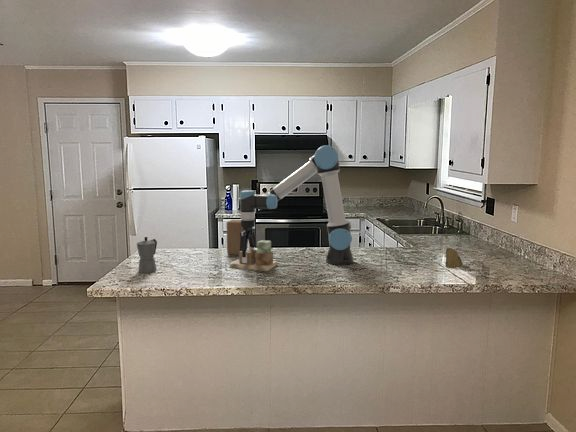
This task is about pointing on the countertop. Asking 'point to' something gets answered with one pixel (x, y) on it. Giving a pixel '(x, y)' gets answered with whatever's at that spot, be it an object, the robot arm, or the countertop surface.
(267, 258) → the tower
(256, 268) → the blueprint board
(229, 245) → the block
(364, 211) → the countertop surface
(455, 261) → the rock
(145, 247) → the coffeepot
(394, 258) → the countertop surface
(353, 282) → the countertop surface
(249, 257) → the walnut block
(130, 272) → the countertop surface
